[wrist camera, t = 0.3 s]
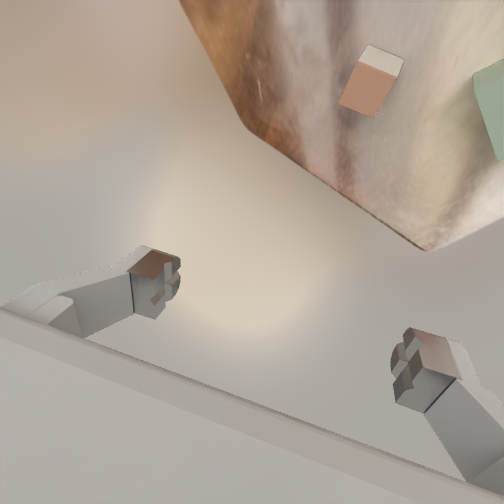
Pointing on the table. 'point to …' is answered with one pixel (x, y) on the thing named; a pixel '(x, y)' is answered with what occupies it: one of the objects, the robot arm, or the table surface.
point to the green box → (492, 103)
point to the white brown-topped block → (371, 81)
